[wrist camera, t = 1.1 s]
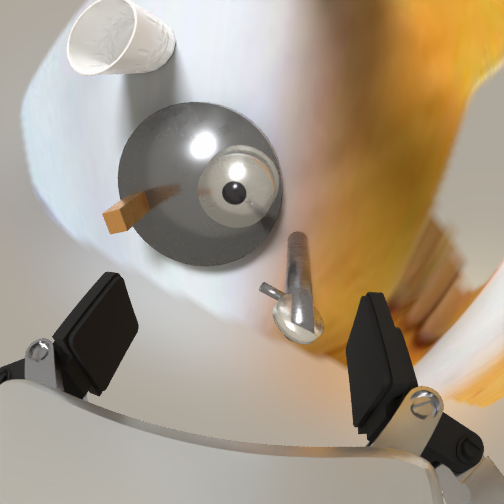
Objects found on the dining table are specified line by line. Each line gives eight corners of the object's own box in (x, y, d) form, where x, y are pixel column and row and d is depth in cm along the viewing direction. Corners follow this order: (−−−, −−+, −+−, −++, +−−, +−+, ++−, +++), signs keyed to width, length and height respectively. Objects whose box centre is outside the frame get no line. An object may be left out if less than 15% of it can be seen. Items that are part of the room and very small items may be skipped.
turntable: (263, 83, 24) (254, 76, 18) (294, 248, 33) (294, 285, 27) (108, 131, 28) (69, 143, 22) (154, 265, 37) (130, 297, 31)
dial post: (318, 242, 33) (331, 340, 20) (306, 256, 35) (311, 356, 21) (277, 217, 33) (265, 307, 19) (266, 232, 34) (248, 326, 20)
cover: (271, 138, 25) (268, 143, 22) (284, 209, 29) (283, 226, 26) (197, 153, 27) (183, 161, 24) (215, 220, 31) (205, 236, 27)
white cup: (155, 88, 26) (104, 89, 18) (110, 62, 25) (55, 59, 16) (194, 33, 23) (154, 9, 14) (145, 9, 21) (96, -12, 12)
